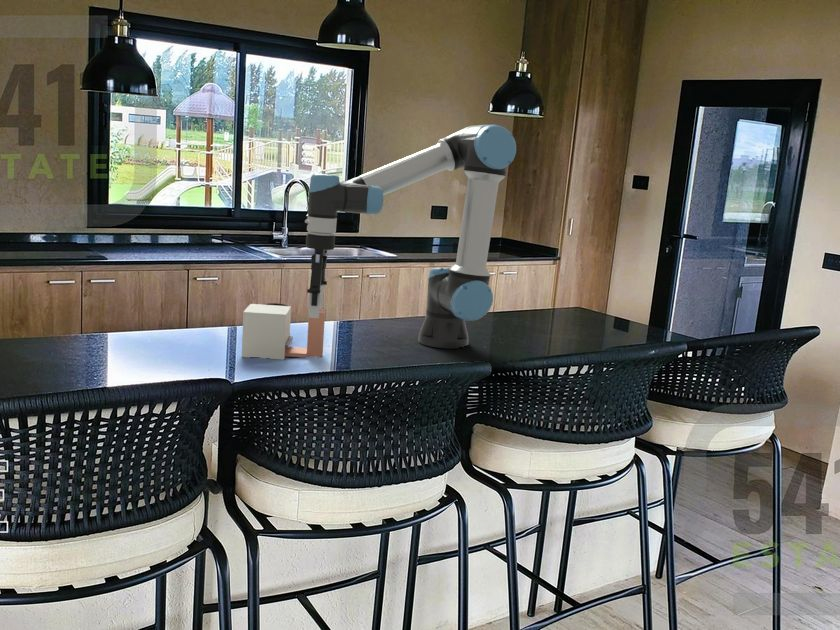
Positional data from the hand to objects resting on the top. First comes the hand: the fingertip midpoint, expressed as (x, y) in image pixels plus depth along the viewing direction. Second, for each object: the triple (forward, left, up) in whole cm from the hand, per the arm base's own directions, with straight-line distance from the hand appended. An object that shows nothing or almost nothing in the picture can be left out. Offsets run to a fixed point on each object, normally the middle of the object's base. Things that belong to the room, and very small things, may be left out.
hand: (315, 313), depth 225 cm
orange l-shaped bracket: (+7, 0, -12) cm, 14 cm away
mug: (+12, -18, -12) cm, 25 cm away
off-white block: (+13, 0, -12) cm, 17 cm away
